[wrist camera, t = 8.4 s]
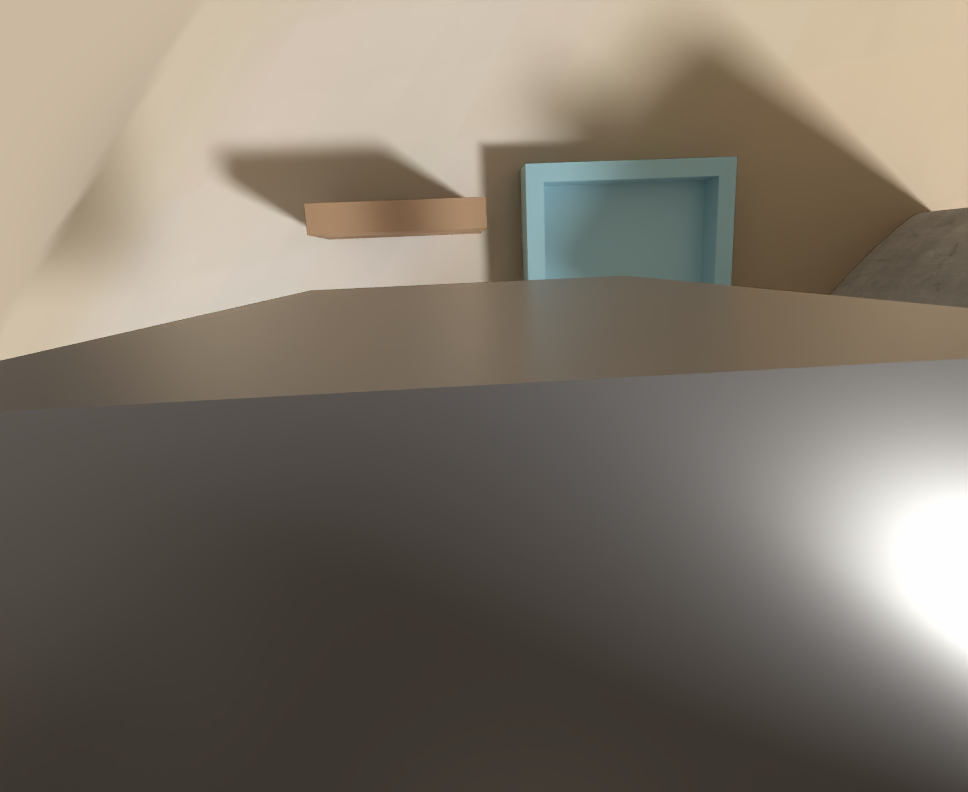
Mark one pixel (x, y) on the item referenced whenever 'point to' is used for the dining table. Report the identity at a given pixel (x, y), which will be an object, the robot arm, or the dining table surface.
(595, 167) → the teal tray
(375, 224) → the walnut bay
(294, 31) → the dining table surface
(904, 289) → the hip flask
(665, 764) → the grey rectangular block
